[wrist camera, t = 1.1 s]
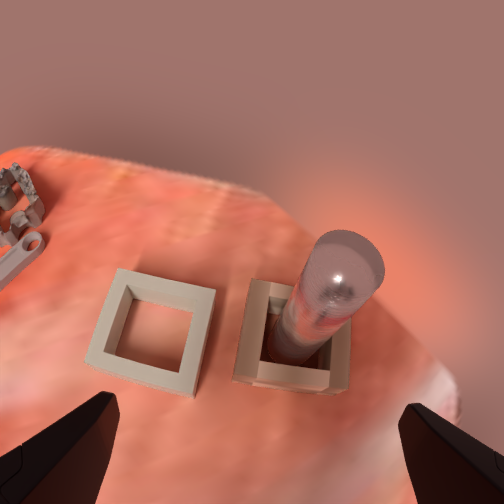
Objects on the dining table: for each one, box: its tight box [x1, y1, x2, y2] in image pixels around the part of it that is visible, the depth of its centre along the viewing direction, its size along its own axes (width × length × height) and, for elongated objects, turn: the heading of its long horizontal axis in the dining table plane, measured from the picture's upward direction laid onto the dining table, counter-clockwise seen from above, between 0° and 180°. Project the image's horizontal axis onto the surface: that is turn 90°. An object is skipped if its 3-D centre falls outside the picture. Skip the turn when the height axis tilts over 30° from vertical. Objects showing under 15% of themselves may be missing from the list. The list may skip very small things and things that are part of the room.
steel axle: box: [267, 230, 385, 366], centre depth 19 cm, size 4×4×12 cm
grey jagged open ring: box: [0, 162, 45, 247], centre depth 27 cm, size 11×8×4 cm
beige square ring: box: [232, 278, 351, 396], centre depth 23 cm, size 8×7×3 cm
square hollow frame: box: [84, 268, 216, 399], centre depth 22 cm, size 8×8×2 cm
